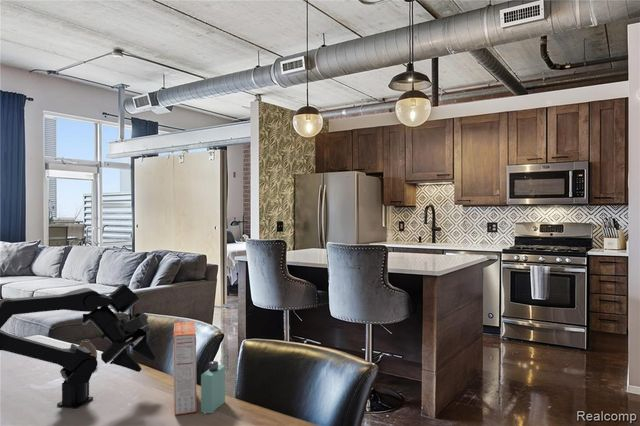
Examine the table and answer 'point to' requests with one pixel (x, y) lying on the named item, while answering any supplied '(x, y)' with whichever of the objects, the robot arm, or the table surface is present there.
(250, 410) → the table surface
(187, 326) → the cracker box
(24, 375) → the table surface
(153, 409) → the table surface
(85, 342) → the vase
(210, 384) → the teal flask bottle
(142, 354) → the robot arm
